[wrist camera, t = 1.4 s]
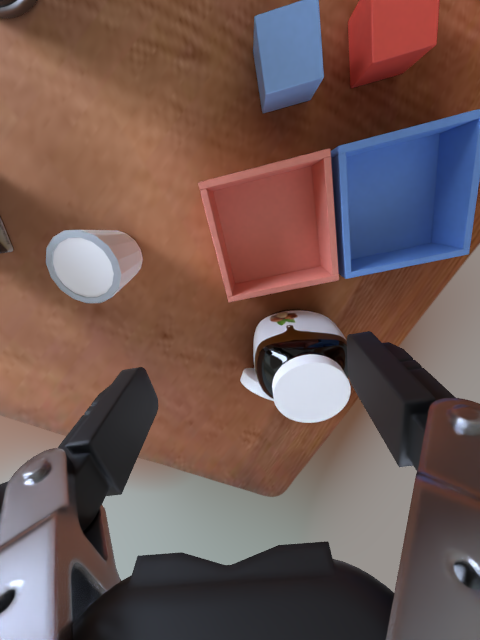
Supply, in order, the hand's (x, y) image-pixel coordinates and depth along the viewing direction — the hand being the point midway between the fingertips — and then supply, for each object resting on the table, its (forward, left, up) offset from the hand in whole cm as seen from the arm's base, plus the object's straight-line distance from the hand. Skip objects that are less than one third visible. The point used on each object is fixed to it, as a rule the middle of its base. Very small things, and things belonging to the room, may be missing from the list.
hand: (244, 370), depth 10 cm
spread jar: (+12, +3, -22) cm, 25 cm away
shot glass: (-4, -14, -22) cm, 26 cm away
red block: (-15, +15, -21) cm, 30 cm away
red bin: (-3, +3, -21) cm, 22 cm away
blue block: (-15, +7, -21) cm, 27 cm away
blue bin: (-3, +15, -21) cm, 26 cm away
